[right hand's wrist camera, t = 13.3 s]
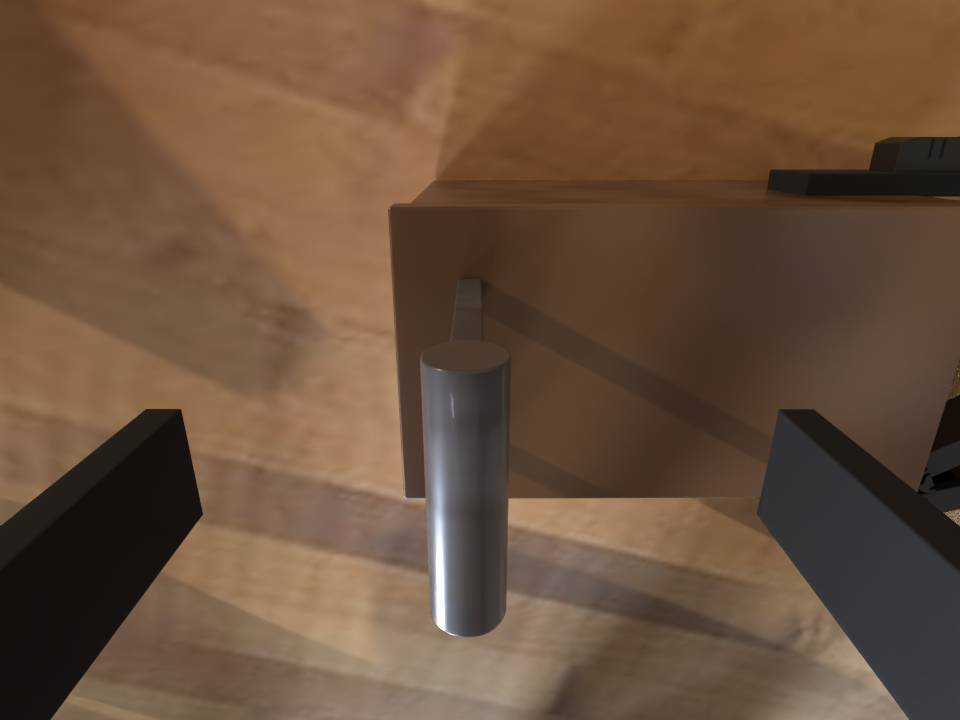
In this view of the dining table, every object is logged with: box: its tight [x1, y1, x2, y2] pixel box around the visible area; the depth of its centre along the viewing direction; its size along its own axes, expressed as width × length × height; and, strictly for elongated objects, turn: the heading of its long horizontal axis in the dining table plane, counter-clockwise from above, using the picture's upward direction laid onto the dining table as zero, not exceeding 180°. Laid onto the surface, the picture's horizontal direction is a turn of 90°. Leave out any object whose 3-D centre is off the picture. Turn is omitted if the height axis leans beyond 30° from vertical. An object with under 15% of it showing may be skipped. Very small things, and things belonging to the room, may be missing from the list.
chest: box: [410, 181, 960, 204], centre depth 24 cm, size 17×10×10 cm, turn 90°
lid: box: [388, 203, 960, 637], centre depth 15 cm, size 18×10×9 cm, turn 90°
